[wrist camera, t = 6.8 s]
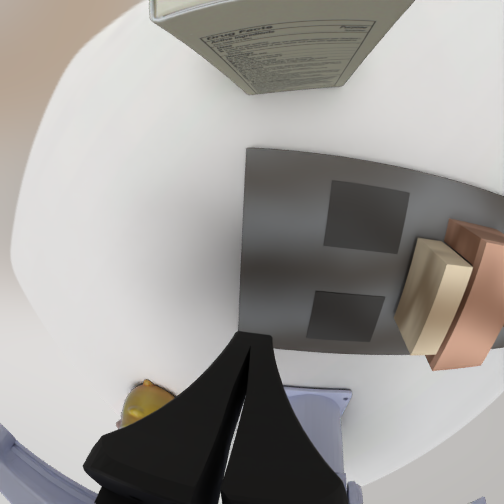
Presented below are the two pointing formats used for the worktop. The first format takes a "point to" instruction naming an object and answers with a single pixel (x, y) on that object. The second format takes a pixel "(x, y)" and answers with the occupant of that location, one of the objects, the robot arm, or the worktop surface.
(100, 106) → the worktop surface
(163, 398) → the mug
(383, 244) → the plate
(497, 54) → the worktop surface
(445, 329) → the tan wooden brick
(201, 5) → the skincare box
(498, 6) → the worktop surface
